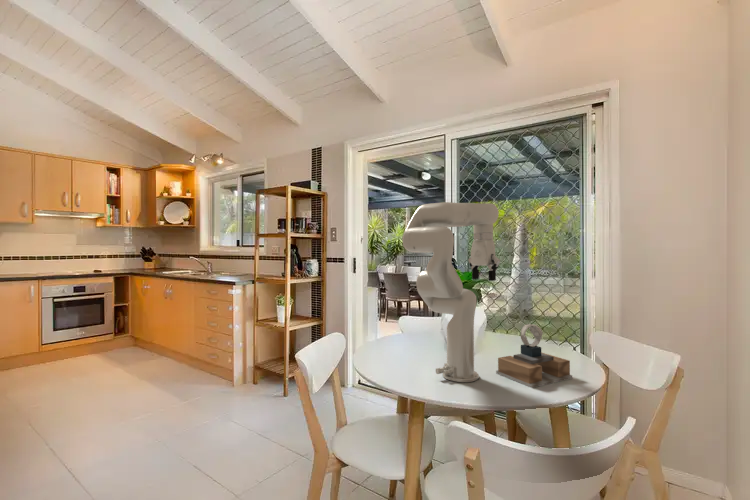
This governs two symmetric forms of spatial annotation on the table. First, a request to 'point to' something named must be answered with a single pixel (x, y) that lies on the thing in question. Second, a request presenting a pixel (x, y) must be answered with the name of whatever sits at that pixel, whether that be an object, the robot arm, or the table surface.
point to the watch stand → (534, 369)
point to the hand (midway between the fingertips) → (483, 279)
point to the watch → (532, 348)
